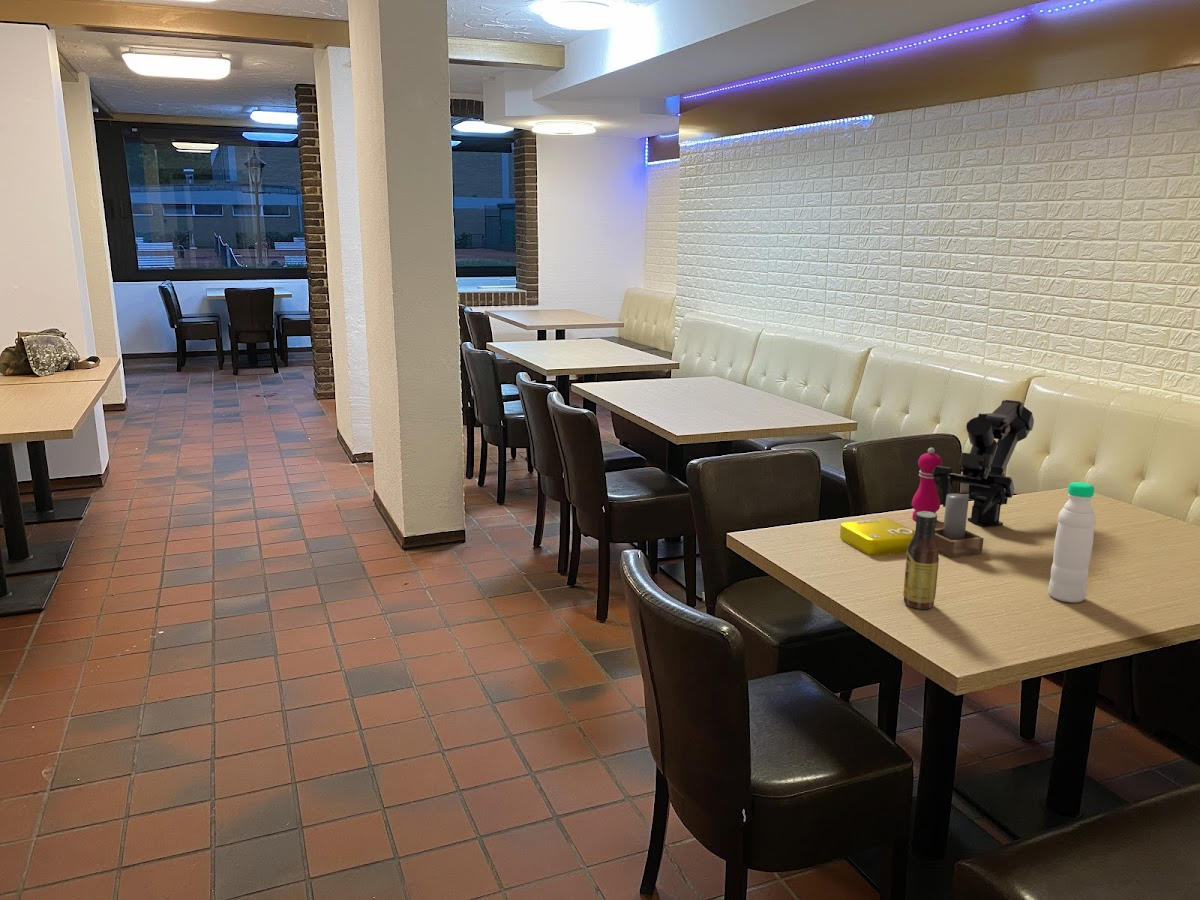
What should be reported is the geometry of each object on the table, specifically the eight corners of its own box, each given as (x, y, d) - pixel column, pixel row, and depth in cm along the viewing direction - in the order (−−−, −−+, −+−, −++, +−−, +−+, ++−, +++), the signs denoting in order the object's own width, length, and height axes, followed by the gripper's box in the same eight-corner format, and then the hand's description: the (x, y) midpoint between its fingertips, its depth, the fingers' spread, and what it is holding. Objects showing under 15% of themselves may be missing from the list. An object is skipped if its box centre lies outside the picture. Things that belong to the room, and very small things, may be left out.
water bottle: (1083, 606, 186) (1100, 490, 181) (1045, 599, 190) (1061, 485, 184) (1086, 595, 192) (1102, 482, 186) (1049, 588, 196) (1064, 477, 190)
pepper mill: (934, 516, 246) (941, 445, 241) (941, 524, 239) (949, 451, 234) (907, 515, 247) (914, 444, 242) (913, 523, 240) (920, 450, 235)
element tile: (887, 533, 233) (888, 515, 232) (923, 552, 219) (925, 533, 218) (836, 538, 228) (837, 520, 227) (870, 558, 214) (872, 539, 213)
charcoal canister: (960, 542, 222) (965, 494, 219) (966, 549, 217) (971, 499, 214) (939, 541, 222) (944, 493, 219) (944, 548, 217) (949, 498, 215)
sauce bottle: (909, 596, 191) (917, 506, 186) (938, 604, 187) (948, 512, 182) (897, 605, 186) (905, 513, 181) (927, 613, 182) (937, 520, 177)
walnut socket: (954, 541, 226) (956, 526, 225) (981, 554, 217) (983, 538, 216) (923, 545, 223) (924, 529, 222) (949, 558, 214) (951, 542, 213)
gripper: (938, 434, 227) (918, 485, 222) (1016, 445, 216) (998, 500, 210) (945, 458, 235) (926, 508, 230) (1021, 470, 224) (1003, 523, 218)
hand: (962, 509), depth 222 cm, fingers open, 9 cm apart
